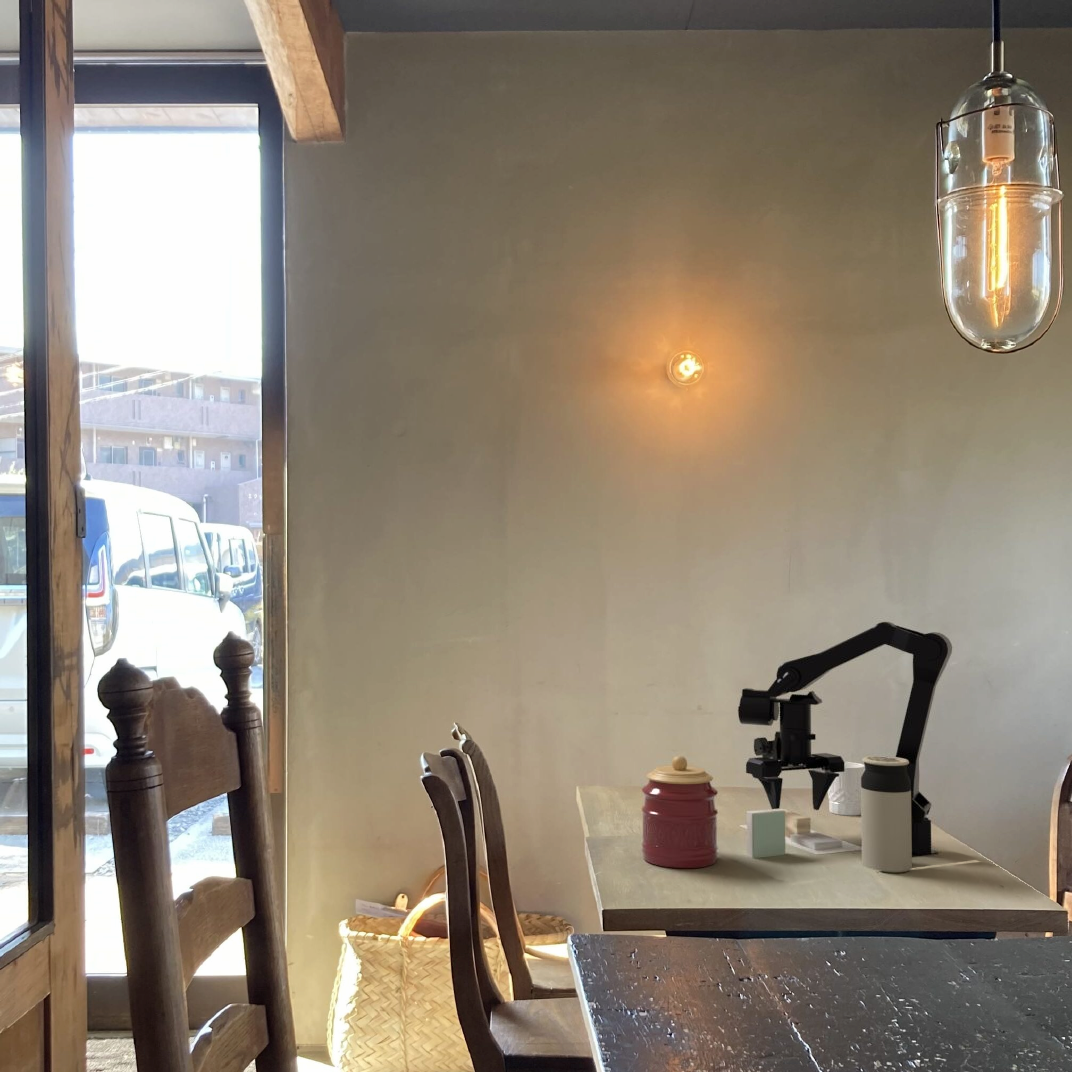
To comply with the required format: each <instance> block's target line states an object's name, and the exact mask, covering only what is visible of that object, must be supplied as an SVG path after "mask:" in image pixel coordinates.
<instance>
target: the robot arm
mask: <svg viewBox="0 0 1072 1072" xmlns="http://www.w3.org/2000/svg"><path fill="white" fill-rule="evenodd" d="M885 645H887V646H889V647H891V648H895V649H896V650H897V649H898V650H899V651H902V652H904V653H908V654H911V655H912V676H913V677H912V686H911V689H910V695H909V697H908V703H907V707H906V711H905V715H904V719H903V723H902V728H901V733H900V736H899V741H898V745H897V750H896V754H895V756H894V757H898V758H903V759H907V760H908V761H909V764H908V765H907V771H906V772H907V774H908V776H909V778H910V780H911V835H912V858H915V857H923V856H934V855H938V854H939V851H937V850H934V849H933V850H932V820H931V819H929V817H927V816H928V815H929V813H930V811H931V807H932V802H930V801H929V799H927V798H926V796H924V794H922V793H921V792H920V790H919V789H920V756H921V753H922V747H923V742H924V739H925V736H926V730H927V727H928V722H929V718H930V713H931V710H932V705H933V701H934V696H935V692H936V689H937V688H936V687H937V685H938V683H939V681H940V679H941V677H942V675H943V673H944V671H945V669H946V667H947V664H948V662H949V660H950V658H951V655H952V652H953V645H952V642H951V640H950V639H949V638H948V637H947V636H946V635H945V634H943V633H940V632H936V631H935V632H934V631H933V632H928V633H923V632H920V631H917V630H913V629H910V628H907V627H903V626H900V625H896V624H895V623H893V622H890V621H882V622H881V621H880V622H878V623H877V624H875V625H874V626H872V627H870V628H869V629H866V630H865V631H864V630H863V632H861V633H860V632H859V634H856V635H854V636H852V637H849V638H847V639H845V640H844V641H841V642H840V643H839V642H838V643H837V644H835V645H833V646H831V647H829V648H826V649H824V650H822V651H820V652H818V653H814V654H811V655H807V656H803V657H800V658H796V659H793V660H788V661H785V662H783V663H782V664H780V665H779V667H778V668H777V671H776V679H775V680H774V682H772V684H771V685H770V686H769V688H768V689H767V690H766V689H765V690H764V689H753V688H748V687H747V688H743V689H742V690H741V696H740V701H739V706H738V707H737V708H738V709H737V714H738V720H739V722H740V724H742V725H752V726H753V725H756V726H766V727H767V726H772V725H773V724H774V721H775V722H776V721H778V720H779V731H775V734H774V739H772V740H768V739H767V738H766V737H756V738H755V739H754V740H753V752H754V754H755V756H757V757H749V758H748V759H747V761H746V763H745V774H750V775H751V776H752V778H754V779H757V780H758V781H759V782H760V784H762V785H761V786H762V787H763V788H764V792H765V793H766V796H767V797H766V798H767V799H768V803H769V804H770V808H771V809H780V807H781V799H782V790H783V789H782V788H783V781H784V779H783V778H782V777H780V775H781V774H782V772H783V771H784V772H789V771H799V770H801V771H802V770H808V771H807V772H808V774H809V776H810V777H811V784H812V785H811V786H812V793H811V794H812V808H813V810H814V811H819V810H820V808H821V806H822V804H823V802H824V799H825V798H826V795H827V794H828V790H829V788H830V786H831V785H832V783H833V781H834V780H835V778H836V777H839V773H835V772H844V771H845V762H846V761H844V760H843V757H842V756H840V755H837V754H832V753H828V752H823V753H822V752H821V753H820V752H819V753H812V741H815V740H817V739H816V734H815V733H812V706H813V705H814V706H816V705H820V704H822V703H823V700H822V699H821V698H820V697H819V696H818V695H817V694H816V693H815V691H814V690H811V691H808V693H807V694H801V693H800V694H799V693H798V694H794V693H795V692H799V691H802V690H803V691H804V690H805V689H808V687H810V686H812V685H813V684H815V683H816V682H818V680H821V678H822V677H824V676H825V675H826V674H828V673H829V672H831V671H832V670H834V669H836V668H837V667H841V666H842V665H844V664H847V663H849V662H850V661H853V660H855V659H857V658H859V657H861V656H864V655H865V654H868V653H869V652H872V651H874V650H876V649H878V648H881V647H882V646H885ZM789 693H792V694H791V695H790V696H789V698H779V697H781V696H783V695H787V694H789ZM777 697H778V698H777ZM760 756H761V757H760Z"/></svg>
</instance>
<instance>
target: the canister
mask: <svg viewBox="0 0 1072 1072" xmlns="http://www.w3.org/2000/svg"><path fill="white" fill-rule="evenodd" d="M646 779H648V783H647V784H645V785H644V786H643V787H642V788H641V792H642V793H643V794H644V805H643V806H642V808H641V811H642V841H641V852H642V858H643V859H644V861H646V862H647V863H649V864H653V865H655V866H660V867H664V868H672V869H673V868H675V869H677V868H678V869H696V868H703V867H704V868H705V867H708V866H711V865H713V864H715V863H716V861H717V857H718V854H719V852H718V849H719V847H718V842H717V836H718V835H717V833H718V832H717V829H718V828H717V821H718V820H717V817H718V816H717V815H718V813H719V811H718V809H717V808H716V804H715V798H716V797H717V795H718V794H719V792H718V790H717V788H715V787H714V786H712V784H711V782H712V781H713V779H714V777H713V776H712V775H711V774H709V773H708V772H706V771H705V769H704V768H700V767H696V766H688V760H687V759H686V757H684V756H682V755H676V756H675V757H673V759H672V761H671V765H663V766H657V767H655V769H653V770H652V771H650V772H648V773H647V774H646Z"/></svg>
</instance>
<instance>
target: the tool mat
mask: <svg viewBox="0 0 1072 1072" xmlns="http://www.w3.org/2000/svg"><path fill="white" fill-rule="evenodd" d="M738 827H741V828H743V829H746V830H747V824H740V825H738ZM810 831H811V833H814V832H818V831H816V830H813V829H810ZM818 833H820V832H818ZM785 844H786V845H790V846H792V847H795V848H798V849H800V850H803V851H805V852H809V853H811V854H814V855H816V856H817V855H827V854H835V853H836V854H837V853H845V852H852V851H853V852H854V851H862V846H859V845H857V844H854V843H851V842H847V841H845V840H842V847H841V848H832V849H823V850H813V849H810V848H807V847H804V846H802V845H799V844H796V843H793V842H791V839H790V838H788V837H785Z"/></svg>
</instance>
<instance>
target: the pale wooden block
mask: <svg viewBox="0 0 1072 1072" xmlns="http://www.w3.org/2000/svg"><path fill="white" fill-rule="evenodd" d="M782 809H783V810H785V837H788V838H790V839H791V842H793V843H796V844H799V845H802V846H804V847H807V848H810V849H813V850H823V849H832V848H841V847H842V841H843V840H842V839H839V838H836V837H833V836H831V835H828V834H824V833H822V832H819V833H818V831H816V832H814V833H811V831H810V830H811V817H809V816H807V815H804V814H800V813H797V812H794V811H791V810H788V809H785V808H782Z"/></svg>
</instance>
